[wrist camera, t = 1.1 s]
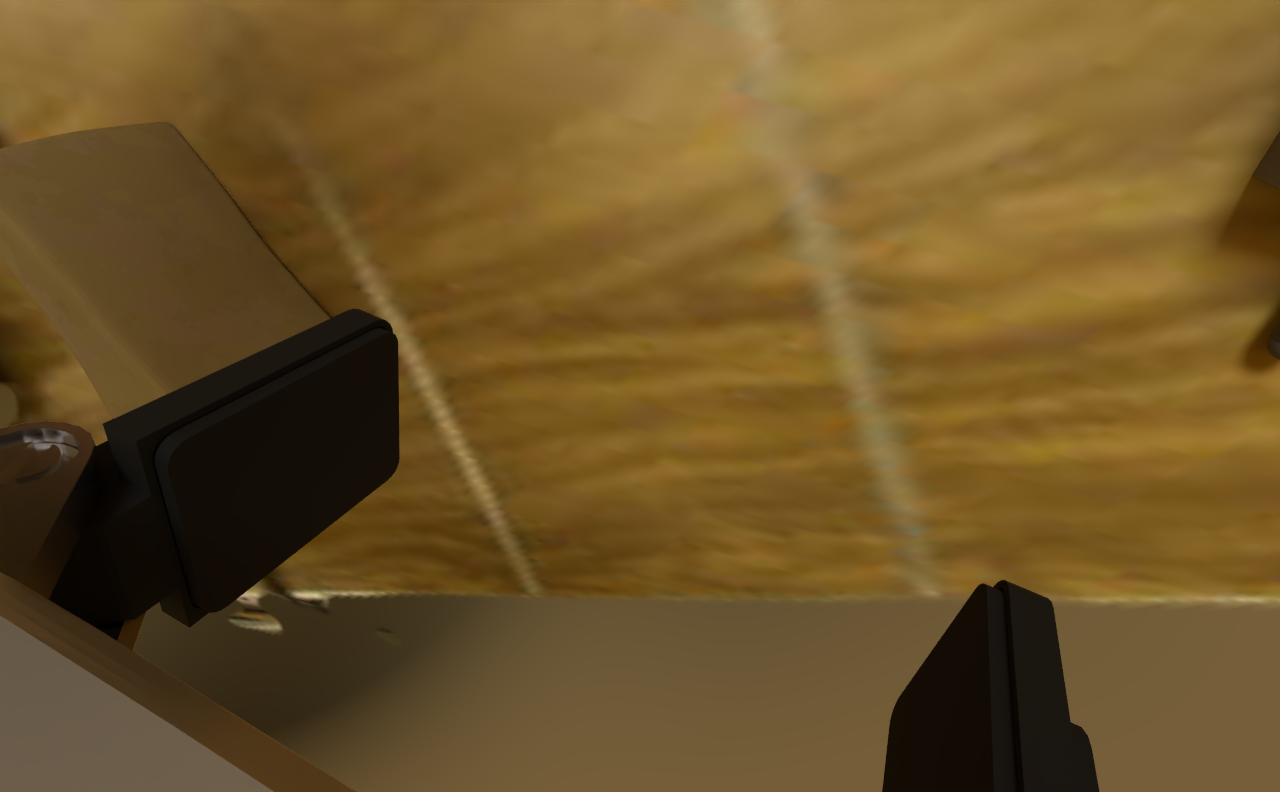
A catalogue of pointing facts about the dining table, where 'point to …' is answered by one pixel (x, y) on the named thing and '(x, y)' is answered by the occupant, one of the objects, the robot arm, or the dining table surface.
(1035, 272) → the dining table surface
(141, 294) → the beige slab
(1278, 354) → the power strip
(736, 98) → the dining table surface
